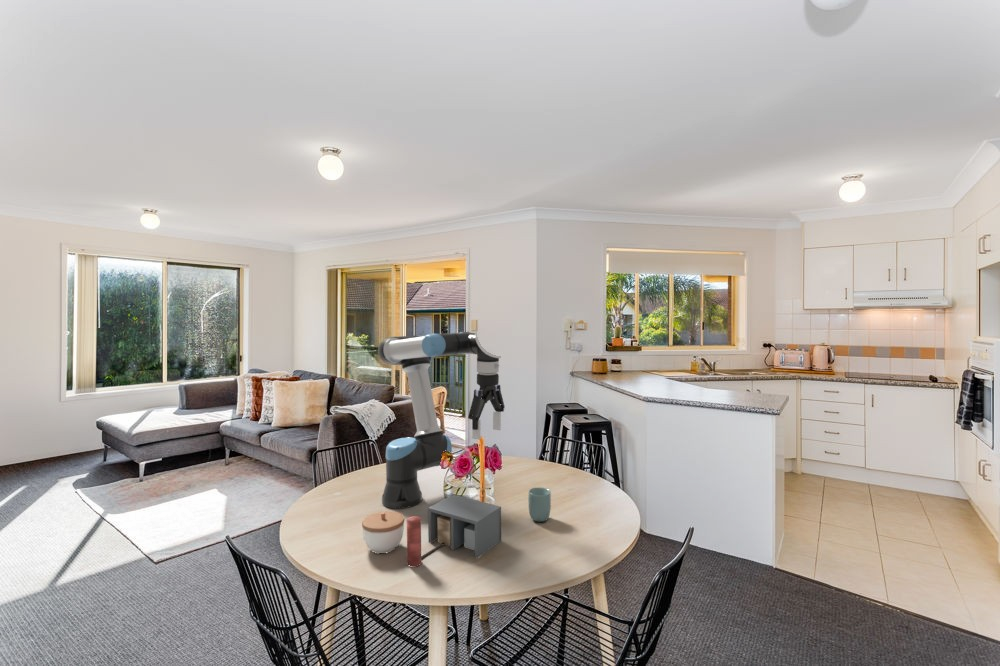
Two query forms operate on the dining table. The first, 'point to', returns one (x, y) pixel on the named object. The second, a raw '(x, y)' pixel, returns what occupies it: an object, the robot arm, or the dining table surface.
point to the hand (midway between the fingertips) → (486, 434)
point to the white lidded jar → (383, 530)
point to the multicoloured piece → (415, 537)
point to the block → (469, 536)
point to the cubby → (467, 522)
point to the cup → (539, 504)
